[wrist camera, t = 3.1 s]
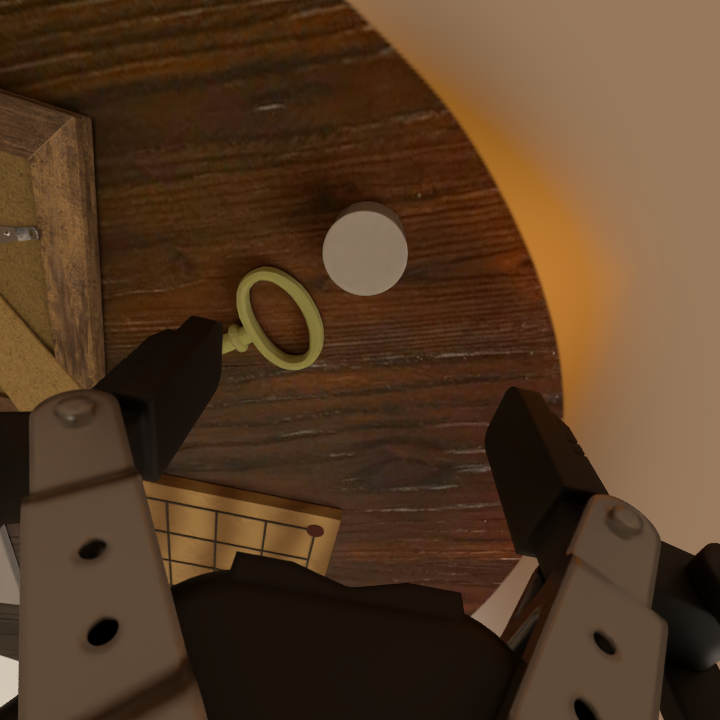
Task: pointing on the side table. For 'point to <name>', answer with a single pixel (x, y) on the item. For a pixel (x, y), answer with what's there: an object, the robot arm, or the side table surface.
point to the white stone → (365, 249)
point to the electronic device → (8, 571)
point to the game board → (235, 527)
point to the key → (253, 331)
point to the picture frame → (47, 254)
